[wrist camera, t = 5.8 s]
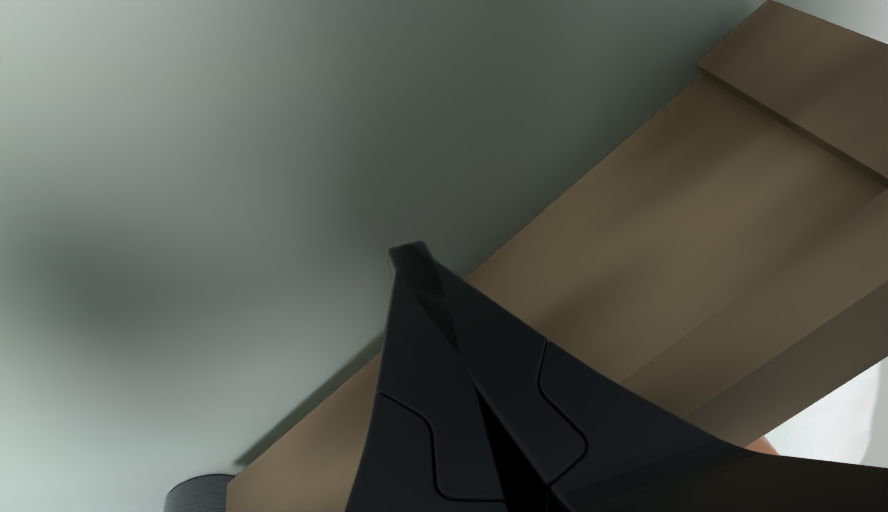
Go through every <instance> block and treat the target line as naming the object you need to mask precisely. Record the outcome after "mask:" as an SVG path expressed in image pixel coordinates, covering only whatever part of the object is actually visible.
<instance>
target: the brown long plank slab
mask: <svg viewBox="0 0 888 512" xmlns="http://www.w3.org/2000/svg"><path fill="white" fill-rule="evenodd" d="M695 64H696V66H697V68H698V69H699V71H700V73H701V75H700V76H698V77H697V78H696V79H695V80H694V81H693V82H691V83H690V84H689V85H688V86H687V87H686V88H684V89H683V90H682V91H681V92H680V93H679V94H678V95H676V96H675V97H674V98H673V99H672V100H671V101H669V102H668V103H667V104H666V105H665V106H664V107H663V108H661V109H660V110H659V111H658V112H657V113H656V114H654V115H653V116H652V117H651V118H650V119H649V120H647V121H646V122H645V123H644V124H643V125H642V126H641V127H639V128H638V129H637V130H636V131H635V132H634V133H632V134H631V135H630V136H629V137H628V138H627V139H626V140H624V141H623V142H622V143H621V144H620V145H619V146H617V147H616V148H615V149H614V150H613V151H612V152H610V153H609V154H608V155H607V156H606V157H605V158H604V159H602V160H601V161H600V162H599V163H598V164H597V165H595V166H594V167H593V168H592V169H591V170H590V171H589V172H587V173H586V174H585V175H584V176H583V177H582V178H580V179H579V180H578V181H577V182H576V183H575V184H573V185H572V186H571V187H570V188H569V189H568V190H567V191H565V192H564V193H563V194H562V195H561V196H560V197H558V198H557V199H556V200H555V201H554V202H553V203H552V204H550V205H549V206H548V207H547V208H546V209H545V210H543V211H542V212H541V213H540V214H539V215H538V216H536V217H535V218H534V219H533V220H532V221H531V222H530V223H528V224H527V225H526V226H525V227H524V228H523V229H521V230H520V231H519V232H518V233H517V234H516V235H514V236H513V237H512V238H511V239H510V240H509V241H508V242H506V243H505V244H504V245H503V246H502V247H501V248H499V249H498V250H497V251H496V252H495V253H494V254H493V255H491V256H490V257H489V258H488V259H487V260H486V261H484V262H483V263H482V264H481V265H480V266H479V267H477V268H476V269H475V270H474V271H473V272H472V273H471V274H469V275H468V276H467V277H466V278H465V279H464V280H465V281H466V282H468V283H469V284H471V285H472V286H473V287H475V288H476V289H478V290H479V291H481V292H482V293H483V294H485V295H486V296H488V297H489V298H491V299H492V300H493V301H495V302H496V303H498V304H499V305H501V306H502V307H503V308H505V309H506V310H508V311H509V312H511V313H512V314H513V315H515V316H516V317H518V318H519V319H521V320H522V321H523V322H525V323H526V324H528V325H529V326H531V327H532V328H534V329H535V330H536V331H538V332H539V333H541V334H542V335H544V336H545V337H546V338H547V339H548V341H552V342H554V343H555V344H557V345H558V346H560V347H561V348H562V349H564V350H565V351H567V352H568V353H570V354H571V355H573V356H574V357H576V358H577V359H579V360H580V361H582V362H583V363H585V364H586V365H588V366H589V367H591V368H593V369H594V370H596V371H597V372H599V373H601V374H602V375H604V376H606V377H608V378H609V379H611V380H613V381H615V382H616V383H618V384H620V385H621V386H623V387H625V388H627V389H628V390H630V391H632V392H634V393H636V394H638V395H639V396H641V397H643V398H645V399H647V400H649V401H650V402H652V403H654V404H656V405H658V406H660V407H661V408H663V409H665V410H667V411H669V412H671V413H672V414H674V415H676V416H678V417H680V418H682V419H683V420H685V421H687V422H689V423H691V424H693V425H694V426H696V427H698V428H700V429H702V430H704V431H705V432H707V433H709V434H711V435H713V436H715V437H717V438H719V439H722V440H724V441H726V442H729V443H731V444H734V445H736V446H739V447H742V448H745V447H746V446H748V445H749V444H751V443H752V442H754V441H756V440H757V439H759V438H760V437H762V436H763V435H765V434H767V433H768V432H770V431H771V430H773V429H774V428H776V427H777V426H779V425H781V424H782V423H784V422H785V421H787V420H788V419H790V418H792V417H793V416H795V415H796V414H798V413H799V412H801V411H803V410H804V409H806V408H807V407H809V406H810V405H812V404H813V403H815V402H817V401H818V400H820V399H821V398H823V397H824V396H826V395H828V394H829V393H831V392H832V391H834V390H835V389H837V388H839V387H840V386H842V385H843V384H845V383H846V382H848V381H850V380H851V379H853V378H854V377H856V376H857V375H859V374H860V373H862V372H864V371H865V370H867V369H868V368H870V367H871V366H873V365H875V364H876V363H878V362H879V361H881V360H882V359H884V358H886V357H887V356H888V44H885V43H882V42H880V41H877V40H875V39H872V38H869V37H867V36H864V35H862V34H859V33H856V32H854V31H851V30H849V29H846V28H843V27H841V26H838V25H835V24H833V23H830V22H828V21H825V20H822V19H820V18H817V17H815V16H812V15H809V14H807V13H804V12H802V11H799V10H796V9H794V8H791V7H788V6H786V5H783V4H781V3H778V2H775V1H773V0H767V1H766V2H765V3H764V4H762V5H761V6H760V7H759V8H758V9H757V10H756V11H754V12H753V13H752V14H751V15H750V16H749V17H748V18H746V19H745V20H744V21H743V22H742V23H741V24H740V25H738V26H737V27H736V28H735V29H734V30H733V31H732V32H730V33H729V34H728V35H727V36H726V37H725V38H724V39H722V40H721V41H720V42H719V43H718V44H717V45H716V46H714V47H713V48H712V49H711V50H710V51H709V52H708V53H706V54H705V55H704V56H703V57H702V58H701V59H700V60H698V61H697V62H696V63H695ZM380 357H381V351H380V352H379V353H378V354H377V355H376V356H375V357H373V358H372V359H371V360H370V361H369V362H368V363H366V364H365V365H364V366H363V367H362V368H361V369H360V370H358V371H357V372H356V373H355V374H354V375H353V376H351V377H350V378H349V379H348V380H347V381H346V382H345V383H343V384H342V385H341V386H340V387H339V388H338V389H336V390H335V391H334V392H333V393H332V394H331V395H329V396H328V397H327V398H326V399H325V400H324V401H323V402H321V403H320V404H319V405H318V406H317V407H316V408H314V409H313V410H312V411H311V412H310V413H309V414H308V415H306V416H305V417H304V418H303V419H302V420H301V421H299V422H298V423H297V424H296V425H295V426H294V427H292V428H291V429H290V430H289V431H288V432H287V433H286V434H284V435H283V436H282V437H281V438H280V439H279V440H277V441H276V442H275V443H274V444H273V445H272V446H271V447H269V448H268V449H267V450H266V451H265V452H264V453H262V454H261V455H260V456H259V457H258V458H257V459H255V460H254V461H253V462H252V463H251V464H250V465H249V466H247V467H246V468H245V469H244V470H243V471H242V472H240V473H239V474H238V475H237V476H236V477H235V478H234V479H232V480H231V481H230V482H229V483H228V484H227V493H226V512H344V509H345V506H346V503H347V500H348V497H349V494H350V490H351V487H352V484H353V481H354V478H355V475H356V471H357V468H358V464H359V461H360V457H361V454H362V450H363V447H364V443H365V438H366V433H367V429H368V424H369V419H370V414H371V409H372V403H373V397H374V394H375V387H376V381H377V375H378V369H379V363H380Z"/></svg>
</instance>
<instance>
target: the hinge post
mask: <svg viewBox="0 0 888 512" xmlns="http://www.w3.org/2000/svg"><path fill="white" fill-rule="evenodd" d="M234 478H235V477H233V476H224V475H213V476H204V477H199V478H195V479H192V480H189V481H187V482H184V483H182V484H180V485H179V486H177V487H176V488H174V489H173V490H172V491H171V492H170V493H169V494H168V496H167V498H166V500H165V506H164V512H226V493H227V484H228V483H229V482H230V481H231V480H232V479H234Z"/></svg>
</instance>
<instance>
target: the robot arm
mask: <svg viewBox="0 0 888 512" xmlns="http://www.w3.org/2000/svg"><path fill="white" fill-rule="evenodd" d="M387 256H388V261H389V266H390V271H391V276H392V281H393V286H392V292H391V298H390V304H389V310H388V316H387V322H386V328H385V333H384V339H383V345H382V351H381V357H380V363H379V369H378V375H377V381H376V387H375V394H374V397H373V403H372V409H371V414H370V419H369V424H368V429H367V433H366V438H365V443H364V447H363V450H362V454H361V457H360V461H359V464H358V468H357V471H356V475H355V478H354V481H353V484H352V487H351V490H350V494H349V497H348V500H347V503H346V506H345V509H344V512H888V468H882V467H874V466H865V465H857V464H848V463H840V462H832V461H823V460H815V459H806V458H798V457H789V456H781V455H772V454H766V453H760V452H756V451H752V450H748V449H745V448H742V447H739V446H736V445H734V444H731V443H729V442H726V441H724V440H722V439H719V438H717V437H715V436H713V435H711V434H709V433H707V432H705V431H704V430H702V429H700V428H698V427H696V426H694V425H693V424H691V423H689V422H687V421H685V420H683V419H682V418H680V417H678V416H676V415H674V414H672V413H671V412H669V411H667V410H665V409H663V408H661V407H660V406H658V405H656V404H654V403H652V402H650V401H649V400H647V399H645V398H643V397H641V396H639V395H638V394H636V393H634V392H632V391H630V390H628V389H627V388H625V387H623V386H621V385H620V384H618V383H616V382H615V381H613V380H611V379H609V378H608V377H606V376H604V375H602V374H601V373H599V372H597V371H596V370H594V369H593V368H591V367H589V366H588V365H586V364H585V363H583V362H582V361H580V360H579V359H577V358H576V357H574V356H573V355H571V354H570V353H568V352H567V351H565V350H564V349H562V348H561V347H560V346H558V345H557V344H555V343H554V342H552V341H548V339H547V338H546V337H545V336H544V335H542V334H541V333H539V332H538V331H536V330H535V329H534V328H532V327H531V326H529V325H528V324H526V323H525V322H523V321H522V320H521V319H519V318H518V317H516V316H515V315H513V314H512V313H511V312H509V311H508V310H506V309H505V308H503V307H502V306H501V305H499V304H498V303H496V302H495V301H493V300H492V299H491V298H489V297H488V296H486V295H485V294H483V293H482V292H481V291H479V290H478V289H476V288H475V287H473V286H472V285H471V284H469V283H468V282H466V281H465V280H463V279H462V278H460V277H459V276H458V275H456V274H455V273H453V272H452V271H450V270H449V269H448V268H446V267H445V266H443V265H442V264H440V263H439V262H438V261H436V260H435V259H434V258H433V256H432V254H431V253H430V251H429V249H428V247H427V245H426V244H425V242H424V241H421V240H418V241H415V242H411V243H407V244H403V245H399V246H395V247H392V248H389V249H388V251H387Z"/></svg>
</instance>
